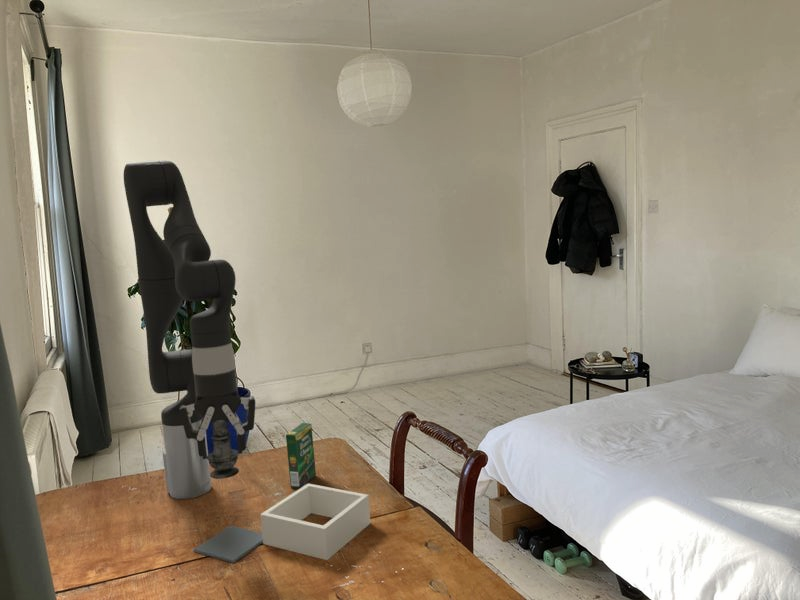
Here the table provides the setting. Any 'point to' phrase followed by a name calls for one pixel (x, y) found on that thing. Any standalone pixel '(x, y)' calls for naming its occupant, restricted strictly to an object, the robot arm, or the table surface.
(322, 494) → the frame
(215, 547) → the mat
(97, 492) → the table surface
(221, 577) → the table surface
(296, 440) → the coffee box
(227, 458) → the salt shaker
